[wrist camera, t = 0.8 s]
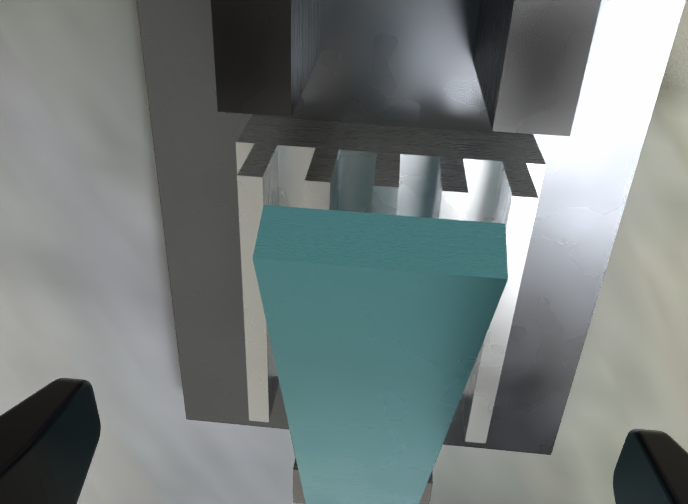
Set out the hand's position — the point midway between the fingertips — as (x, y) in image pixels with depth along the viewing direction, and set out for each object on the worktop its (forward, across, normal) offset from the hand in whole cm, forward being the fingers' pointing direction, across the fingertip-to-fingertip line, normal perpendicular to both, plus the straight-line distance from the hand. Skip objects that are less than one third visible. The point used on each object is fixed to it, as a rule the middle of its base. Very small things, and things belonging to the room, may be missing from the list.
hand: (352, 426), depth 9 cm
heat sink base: (+13, 0, +4) cm, 13 cm away
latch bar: (+4, 0, +4) cm, 6 cm away
